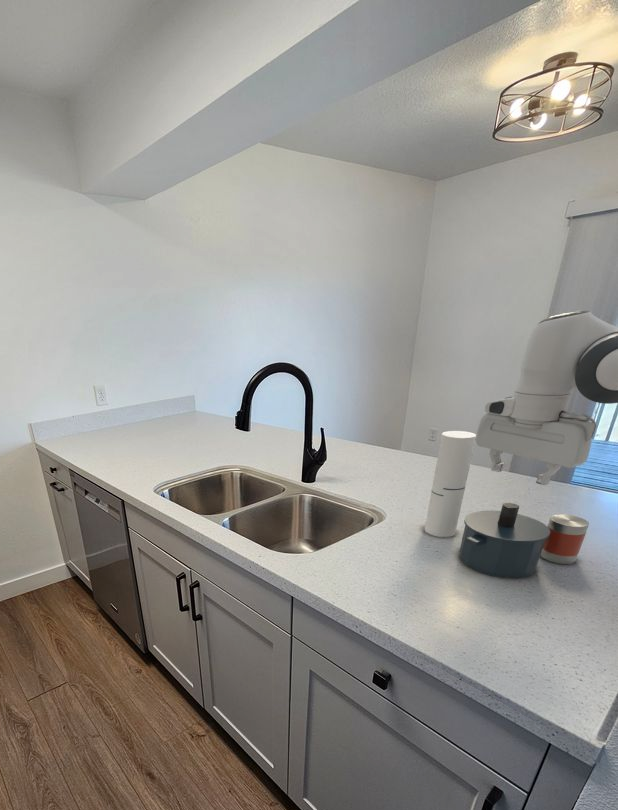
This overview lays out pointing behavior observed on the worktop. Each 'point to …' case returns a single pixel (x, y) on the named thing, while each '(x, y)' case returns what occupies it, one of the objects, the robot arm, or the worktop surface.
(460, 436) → the cylindrical container
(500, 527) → the pot lid
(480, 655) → the worktop surface
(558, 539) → the can
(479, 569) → the pot
